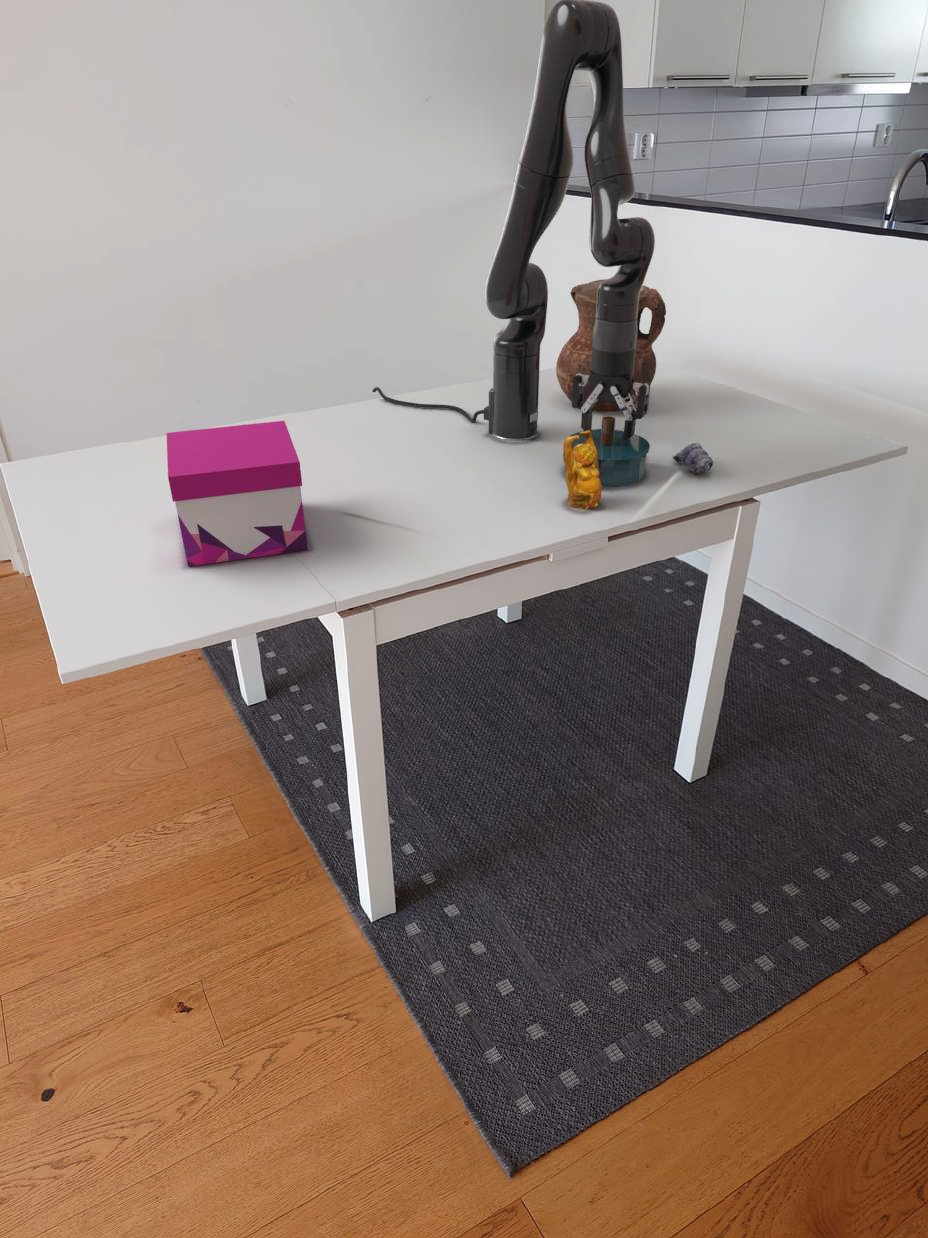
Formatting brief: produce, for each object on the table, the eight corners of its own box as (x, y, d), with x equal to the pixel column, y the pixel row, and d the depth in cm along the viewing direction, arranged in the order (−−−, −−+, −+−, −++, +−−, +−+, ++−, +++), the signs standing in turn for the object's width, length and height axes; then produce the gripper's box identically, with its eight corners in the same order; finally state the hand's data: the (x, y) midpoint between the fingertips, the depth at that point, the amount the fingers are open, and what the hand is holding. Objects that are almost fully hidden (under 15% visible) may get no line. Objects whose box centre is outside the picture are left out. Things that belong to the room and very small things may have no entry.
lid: (549, 455, 161) (551, 424, 158) (584, 429, 172) (586, 399, 169) (631, 471, 154) (634, 439, 151) (661, 443, 166) (664, 412, 163)
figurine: (591, 516, 150) (596, 443, 144) (558, 506, 154) (562, 435, 147) (609, 503, 155) (616, 433, 148) (577, 494, 158) (582, 425, 151)
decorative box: (309, 550, 141) (299, 461, 133) (186, 568, 136) (168, 477, 128) (294, 502, 156) (284, 420, 148) (182, 516, 152) (166, 432, 144)
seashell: (676, 466, 172) (704, 487, 164) (664, 447, 169) (692, 468, 161) (698, 447, 171) (727, 467, 163) (686, 428, 168) (715, 448, 160)
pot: (545, 484, 162) (546, 456, 159) (589, 449, 176) (591, 423, 173) (620, 501, 155) (623, 472, 153) (659, 463, 170) (662, 436, 167)
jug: (558, 418, 192) (564, 298, 178) (550, 388, 209) (555, 277, 196) (661, 417, 192) (675, 297, 178) (643, 387, 209) (655, 276, 196)
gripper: (661, 344, 153) (651, 435, 162) (584, 333, 159) (579, 422, 168) (646, 354, 147) (636, 448, 156) (567, 343, 153) (562, 434, 162)
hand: (606, 435), depth 162 cm, fingers open, 7 cm apart
